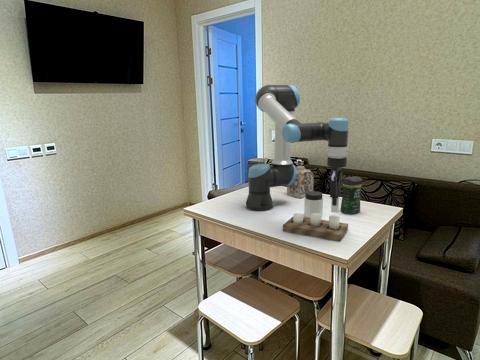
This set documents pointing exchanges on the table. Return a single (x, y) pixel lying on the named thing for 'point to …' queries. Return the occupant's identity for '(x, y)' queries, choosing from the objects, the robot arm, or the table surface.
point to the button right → (334, 222)
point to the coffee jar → (351, 195)
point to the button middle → (315, 219)
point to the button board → (316, 229)
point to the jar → (313, 203)
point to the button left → (298, 218)
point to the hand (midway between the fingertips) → (334, 211)
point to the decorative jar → (301, 183)
